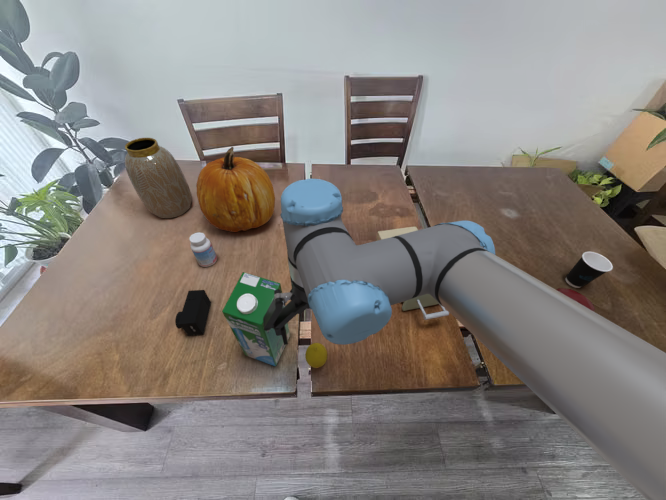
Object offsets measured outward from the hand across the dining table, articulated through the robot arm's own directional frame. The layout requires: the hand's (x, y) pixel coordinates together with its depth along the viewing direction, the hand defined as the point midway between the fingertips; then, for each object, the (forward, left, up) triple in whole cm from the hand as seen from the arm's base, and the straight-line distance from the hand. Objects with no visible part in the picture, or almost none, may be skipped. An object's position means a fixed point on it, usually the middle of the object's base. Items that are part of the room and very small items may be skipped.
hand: (315, 332), depth 59 cm
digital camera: (+19, +31, -17) cm, 40 cm away
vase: (+73, +46, -17) cm, 88 cm away
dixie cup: (+8, -89, -17) cm, 91 cm away
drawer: (+13, -34, -16) cm, 39 cm away
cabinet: (+27, -34, -17) cm, 46 cm away
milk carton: (+7, +12, -17) cm, 22 cm away
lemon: (0, 0, -17) cm, 17 cm away
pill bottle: (+41, +30, -17) cm, 53 cm away
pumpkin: (+60, +18, -17) cm, 65 cm away
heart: (0, -76, -17) cm, 78 cm away
